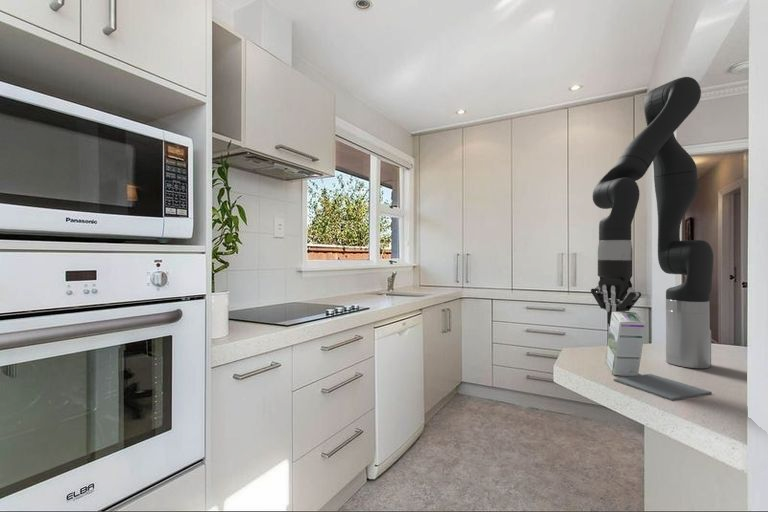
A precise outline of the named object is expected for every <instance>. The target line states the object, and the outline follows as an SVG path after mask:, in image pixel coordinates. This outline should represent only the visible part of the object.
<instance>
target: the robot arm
mask: <svg viewBox="0 0 768 512" xmlns="http://www.w3.org/2000/svg"><path fill="white" fill-rule="evenodd" d="M701 96H702V90H701V86H700V84H699V82H698V81H697V80H696V79H695V78H693V77H690V76H682V77H679V78H676V79H673V80H671V81H669V82H666V83H664V84H662V85H660V86H657V87H655V88H654V89H652V90H650V91H648V93H646V95H645V97H644V101H643V111H644V117H645V123H646V127H645V128H644V129H643V130H642V131H641V132H639V134H637V135H635V137H634V138H633V139H632V140H631V141H630V143H629V144H628V145H627V146H626V148H625V149H624V150H623V152H622V153H621V156H620V157H619V158H618V159H617V162H616V164H615V165H614V166H612V167H611V168H610V169H609V170H608V171H607V172H606V174H605V175H604V176H603V177H602V178H601V179H599V181H598V182H597V184H596V185H595V187H594V189H593V190H592V200H593V201H592V202H593V204H594V205H595V206H596V207H598V208H599V209H603V210H605V209H606V210H608V209H611V210H610V213H609V215H608V216H606V217H603V218H601V220H600V221H599V225H598V245H597V246H598V247H597V276H598V277H599V281H598V282H597V285H598V286H596V287H595V288H591V289H590V293H591V294H592V296H593V297H594V299H595V300H596V301H595V302H596V303H597V304H598V306H599V307H600V308H601V309H603V310H605V311H606V313H607V324H608V327H609V328H610V322H611V314H612V312H630V311H631V309H632V308H633V307H634V305H635V304H636V303H637V302H638V300H639V299H640V298H641V296H642V293H641V291H636V290H635V289H634V288H633V283H632V281H631V279H632V277H633V245H632V243H633V242H632V222H633V220H634V217H635V214H636V212H637V211H636V210H637V207H638V205H639V201H640V194H641V193H640V188H639V184H638V182H636V181H638V180H640V179H642V178H643V177H644V175H646V172H648V170H649V168H650V166H651V165H652V166H653V180H654V181H653V182H654V183H653V184H654V193H655V198H656V211H657V260H658V265H659V267H660V269H661V270H662V271H663V272H664V273H665V274H668V275H669V274H670V275H682V276H683V275H686V279H685V281H684V282H682V283H681V284H679V285H676V286H671V287H669V288H667V289H666V290H665V361H666V362H667V364H668V363H669V364H671V365H674V366H679V367H683V368H691V369H709V368H710V366H712V330H711V327H710V326H711V325H710V324H711V322H710V318H711V315H710V314H711V313H710V301H711V300H710V298H711V297H710V296H711V292H712V288H713V271H714V252H713V248H712V246H711V244H710V243H709V242H708V241H706V240H702V239H694V240H693V239H692V240H690V239H689V240H681V237H680V236H681V226H682V225H681V223H682V221H683V218H684V216H685V214H686V213H687V211H688V210H689V208H690V207H691V205H692V203H693V202H694V200H695V198H696V196H697V193H698V190H699V181H698V180H699V179H698V168H697V164H696V162H695V160H694V159H693V157H692V156H691V155H690V154H689V152H687V151H686V150H685V149H684V147H683V146H682V145H681V144H680V143H679V142H678V140H677V139H676V138H677V137H676V136H675V134H674V133H676V131H677V130H678V128H679V127H680V125H682V123H683V122H685V120H686V119H687V118H688V117H689V116H690V115H691V113H692V112H694V110H695V109H696V108H697V106H698V104H699V102H700V101H701V98H702V97H701Z"/></svg>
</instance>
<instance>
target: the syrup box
mask: <svg viewBox="0 0 768 512" xmlns="http://www.w3.org/2000/svg"><path fill="white" fill-rule="evenodd" d="M646 326H647V323H646V322H645V321H644V319H643V318H642V317H641V316H640V315H638V312H634V311H625V312H612V314H611V322H610V327H609V332H608V339H607V346H606V347H607V348H606V354H605V355H606V356H605V361H604V362H605V364H606V366H607V367H608V369H609V370H610V372H611V374H612V375H614V376H620V377H621V376H623V377H631V376H639V371H640V365H641V360H642V358H641V357H642V351H643V346H644V339H645V333H646V332H645V331H646Z"/></svg>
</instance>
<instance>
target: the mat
mask: <svg viewBox="0 0 768 512" xmlns="http://www.w3.org/2000/svg"><path fill="white" fill-rule="evenodd" d="M613 381H614V382H617V383H620V384H623V385H625V386H629V387H631V388H634V389H637V390H640V391H643V392H646V393H647V394H651V395H655V396H657V397H661V398H664V399H666V400H669V401H676V400H682V399H688V398H694V397H700V396H706V395H712V391H710V390H707V389H703V388H700V387H697V386H693V385H690V384H686V383H684V382H680V381H676V380H674V379H673V380H672V379H670V378H666V377H663V376H659V375H657V374H652V373H648V374H641V375H639V374H638V376H623V377H616V378H613Z"/></svg>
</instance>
